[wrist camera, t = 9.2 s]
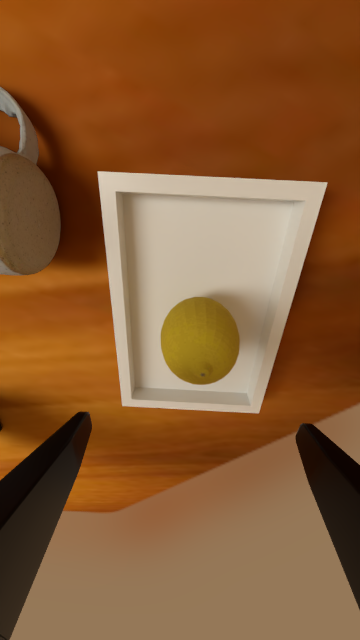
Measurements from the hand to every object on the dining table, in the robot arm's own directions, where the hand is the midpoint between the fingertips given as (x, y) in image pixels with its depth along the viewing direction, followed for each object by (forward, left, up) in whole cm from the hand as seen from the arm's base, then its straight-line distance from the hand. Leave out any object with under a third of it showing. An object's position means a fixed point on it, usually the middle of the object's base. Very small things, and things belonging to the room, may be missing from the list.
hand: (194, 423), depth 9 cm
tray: (0, -1, -12) cm, 12 cm away
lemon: (0, -1, -11) cm, 11 cm away
